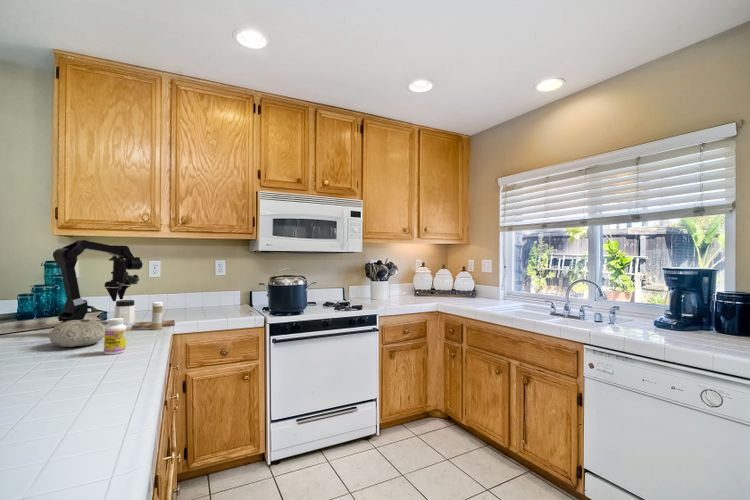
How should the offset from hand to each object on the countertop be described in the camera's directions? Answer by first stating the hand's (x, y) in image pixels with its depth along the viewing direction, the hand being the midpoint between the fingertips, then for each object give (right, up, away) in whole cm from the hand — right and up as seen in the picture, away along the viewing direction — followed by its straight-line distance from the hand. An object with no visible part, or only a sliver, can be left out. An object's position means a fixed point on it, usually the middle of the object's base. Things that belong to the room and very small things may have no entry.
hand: (117, 300), depth 182 cm
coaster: (+8, -13, -10) cm, 19 cm away
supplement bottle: (+33, -14, -47) cm, 58 cm away
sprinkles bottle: (+23, -14, -5) cm, 27 cm away
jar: (-2, -14, +8) cm, 16 cm away
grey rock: (+11, -13, -37) cm, 41 cm away
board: (+16, -14, +4) cm, 22 cm away
